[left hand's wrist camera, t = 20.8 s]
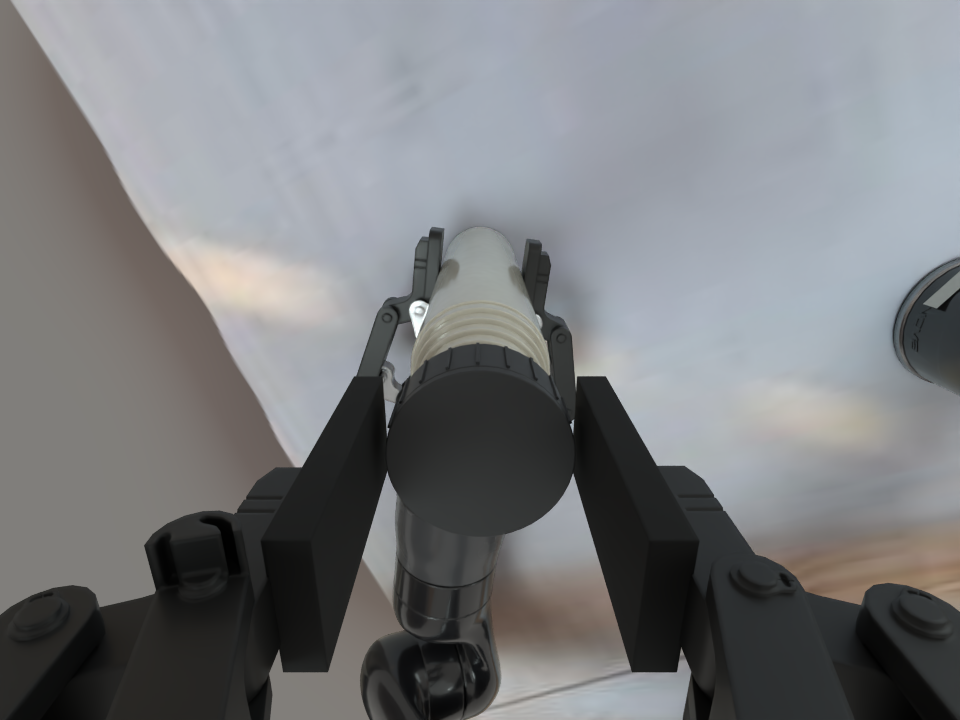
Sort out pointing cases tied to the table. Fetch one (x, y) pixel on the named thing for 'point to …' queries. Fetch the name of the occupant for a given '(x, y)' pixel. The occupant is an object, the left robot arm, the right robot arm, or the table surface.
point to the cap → (480, 441)
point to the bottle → (480, 301)
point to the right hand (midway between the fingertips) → (485, 236)
